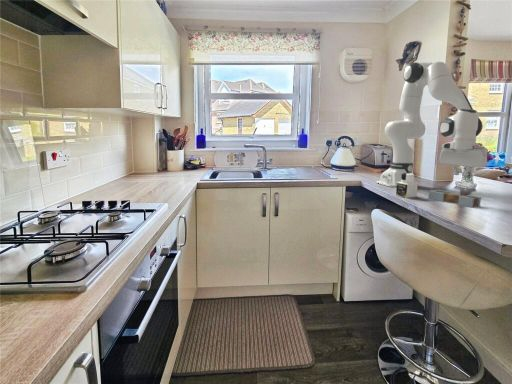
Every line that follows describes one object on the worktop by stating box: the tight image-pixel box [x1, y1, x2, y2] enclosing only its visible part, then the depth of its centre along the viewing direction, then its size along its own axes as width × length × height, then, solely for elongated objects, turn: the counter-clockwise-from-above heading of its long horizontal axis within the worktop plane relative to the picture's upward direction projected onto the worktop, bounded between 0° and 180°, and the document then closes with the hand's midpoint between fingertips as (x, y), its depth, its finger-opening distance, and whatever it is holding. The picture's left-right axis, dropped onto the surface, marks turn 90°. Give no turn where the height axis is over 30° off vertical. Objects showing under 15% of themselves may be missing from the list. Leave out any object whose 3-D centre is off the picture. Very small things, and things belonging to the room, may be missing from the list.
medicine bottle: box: [395, 172, 419, 199], centre depth 172 cm, size 7×7×12 cm
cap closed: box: [428, 189, 453, 202], centre depth 165 cm, size 8×6×4 cm
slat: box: [442, 192, 478, 208], centre depth 157 cm, size 16×3×4 cm, turn 26°
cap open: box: [457, 194, 482, 208], centre depth 152 cm, size 6×6×4 cm
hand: (460, 175), depth 155 cm, fingers open, 3 cm apart
